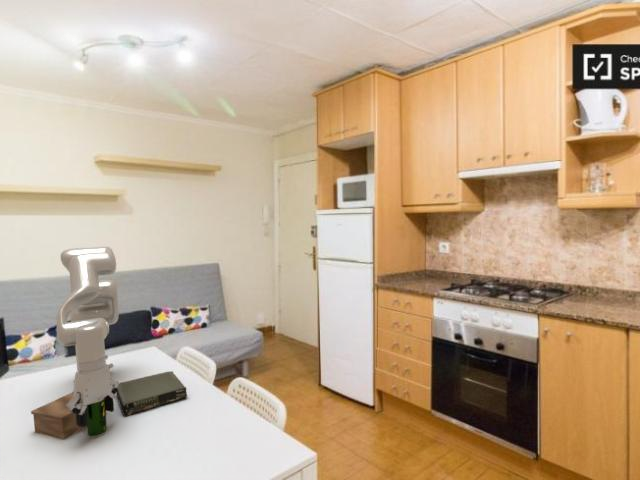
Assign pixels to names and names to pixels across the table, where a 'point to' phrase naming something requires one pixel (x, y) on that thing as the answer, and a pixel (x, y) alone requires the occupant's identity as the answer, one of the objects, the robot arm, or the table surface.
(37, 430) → the wooden block
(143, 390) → the network switch
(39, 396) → the table surface
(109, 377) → the robot arm
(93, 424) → the beer can
